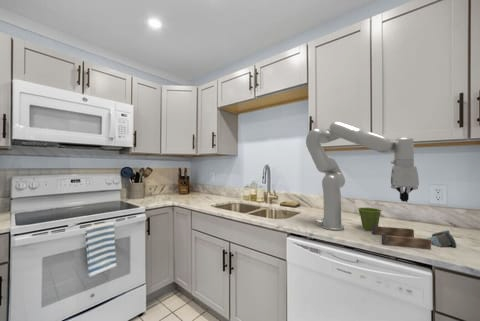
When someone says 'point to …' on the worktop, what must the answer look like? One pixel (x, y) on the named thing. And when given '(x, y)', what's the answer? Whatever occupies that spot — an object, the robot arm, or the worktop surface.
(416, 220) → the worktop surface
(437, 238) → the grey irregular lump
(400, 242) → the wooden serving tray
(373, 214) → the plant pot
